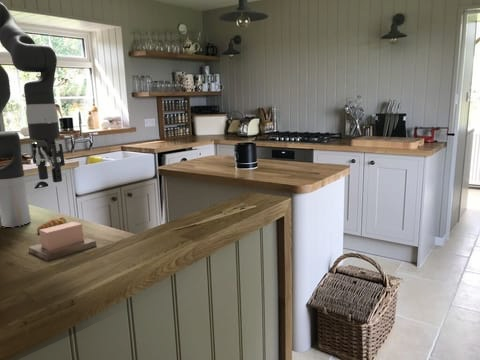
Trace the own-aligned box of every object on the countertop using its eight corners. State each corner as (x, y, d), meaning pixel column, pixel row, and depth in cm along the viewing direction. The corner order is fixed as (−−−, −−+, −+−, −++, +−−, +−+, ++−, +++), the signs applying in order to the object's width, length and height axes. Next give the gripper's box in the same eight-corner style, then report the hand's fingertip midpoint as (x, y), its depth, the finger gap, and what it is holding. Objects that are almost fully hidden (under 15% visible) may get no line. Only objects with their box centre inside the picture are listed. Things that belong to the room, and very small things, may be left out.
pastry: (42, 236, 130) (41, 224, 130) (33, 233, 135) (32, 221, 134) (70, 228, 137) (69, 218, 137) (61, 226, 142) (60, 215, 141)
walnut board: (29, 251, 115) (28, 246, 115) (76, 238, 125) (75, 234, 125) (47, 260, 107) (46, 255, 107) (96, 245, 117) (95, 240, 117)
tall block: (75, 237, 121) (41, 247, 114) (73, 221, 120) (39, 229, 113) (83, 240, 118) (49, 250, 111) (81, 224, 117) (46, 232, 110)
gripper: (17, 122, 111) (26, 180, 114) (40, 122, 102) (48, 185, 105) (45, 121, 117) (52, 176, 120) (68, 120, 107) (76, 180, 110)
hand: (50, 180), depth 112 cm, fingers open, 8 cm apart
